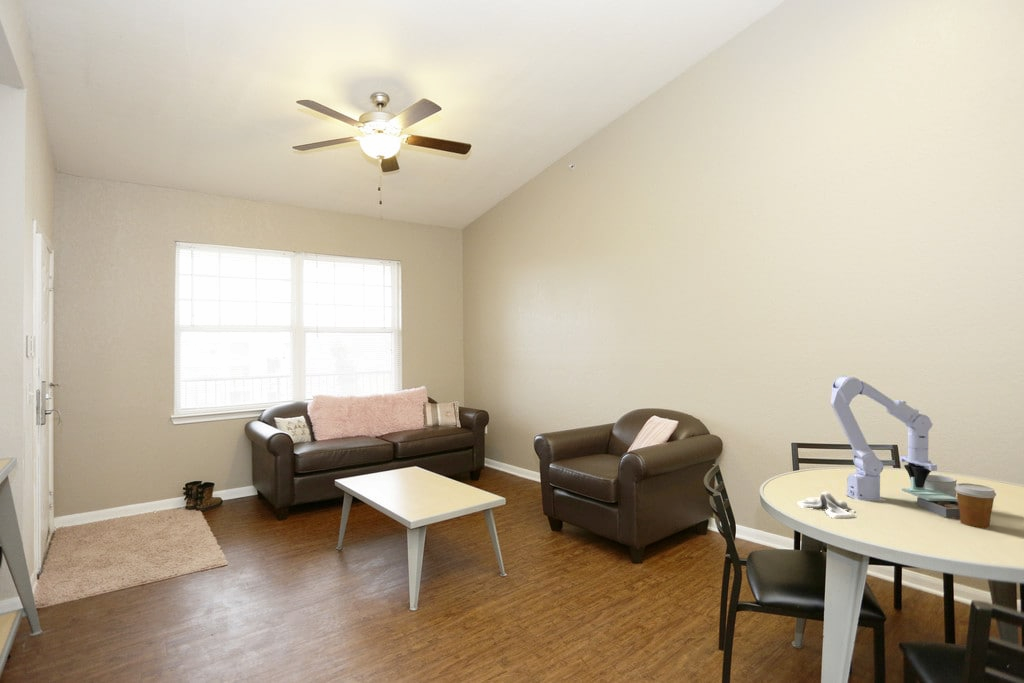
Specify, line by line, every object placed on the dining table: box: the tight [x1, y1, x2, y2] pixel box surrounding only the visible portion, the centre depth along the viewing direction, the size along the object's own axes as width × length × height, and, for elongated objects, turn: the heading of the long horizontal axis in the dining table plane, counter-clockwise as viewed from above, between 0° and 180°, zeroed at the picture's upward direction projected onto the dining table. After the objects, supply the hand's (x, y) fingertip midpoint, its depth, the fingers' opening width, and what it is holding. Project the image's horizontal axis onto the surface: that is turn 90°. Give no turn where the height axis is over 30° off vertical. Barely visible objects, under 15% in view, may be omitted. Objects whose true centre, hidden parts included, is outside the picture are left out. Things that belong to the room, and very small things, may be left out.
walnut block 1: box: [932, 501, 950, 507], centre depth 175 cm, size 4×4×3 cm
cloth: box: [797, 491, 857, 519], centre depth 178 cm, size 22×19×6 cm
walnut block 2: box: [944, 504, 959, 508], centre depth 170 cm, size 4×4×3 cm
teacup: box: [925, 474, 958, 498], centre depth 189 cm, size 14×11×8 cm
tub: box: [916, 496, 960, 519], centre depth 173 cm, size 12×10×4 cm
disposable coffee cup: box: [955, 482, 997, 529], centre depth 161 cm, size 10×10×12 cm
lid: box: [901, 477, 958, 501], centre depth 180 cm, size 12×10×5 cm
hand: (917, 486), depth 185 cm, fingers closed
